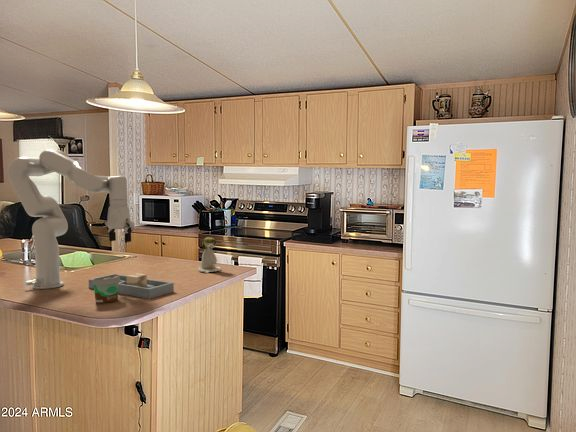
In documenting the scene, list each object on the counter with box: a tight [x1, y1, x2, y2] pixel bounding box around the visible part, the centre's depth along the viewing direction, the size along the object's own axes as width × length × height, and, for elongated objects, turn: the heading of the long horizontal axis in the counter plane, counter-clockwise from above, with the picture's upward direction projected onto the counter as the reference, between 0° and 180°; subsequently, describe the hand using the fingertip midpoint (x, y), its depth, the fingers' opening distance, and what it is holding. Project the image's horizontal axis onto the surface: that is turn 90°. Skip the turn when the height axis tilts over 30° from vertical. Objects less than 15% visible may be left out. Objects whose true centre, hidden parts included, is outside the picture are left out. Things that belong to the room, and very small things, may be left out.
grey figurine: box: [198, 236, 222, 274], centre depth 242 cm, size 12×13×18 cm
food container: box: [92, 273, 120, 305], centre depth 179 cm, size 12×6×10 cm, turn 158°
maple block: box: [125, 272, 148, 287], centre depth 197 cm, size 6×6×5 cm
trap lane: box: [88, 273, 175, 300], centre depth 199 cm, size 14×38×4 cm, turn 61°
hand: (120, 241), depth 202 cm, fingers open, 9 cm apart
